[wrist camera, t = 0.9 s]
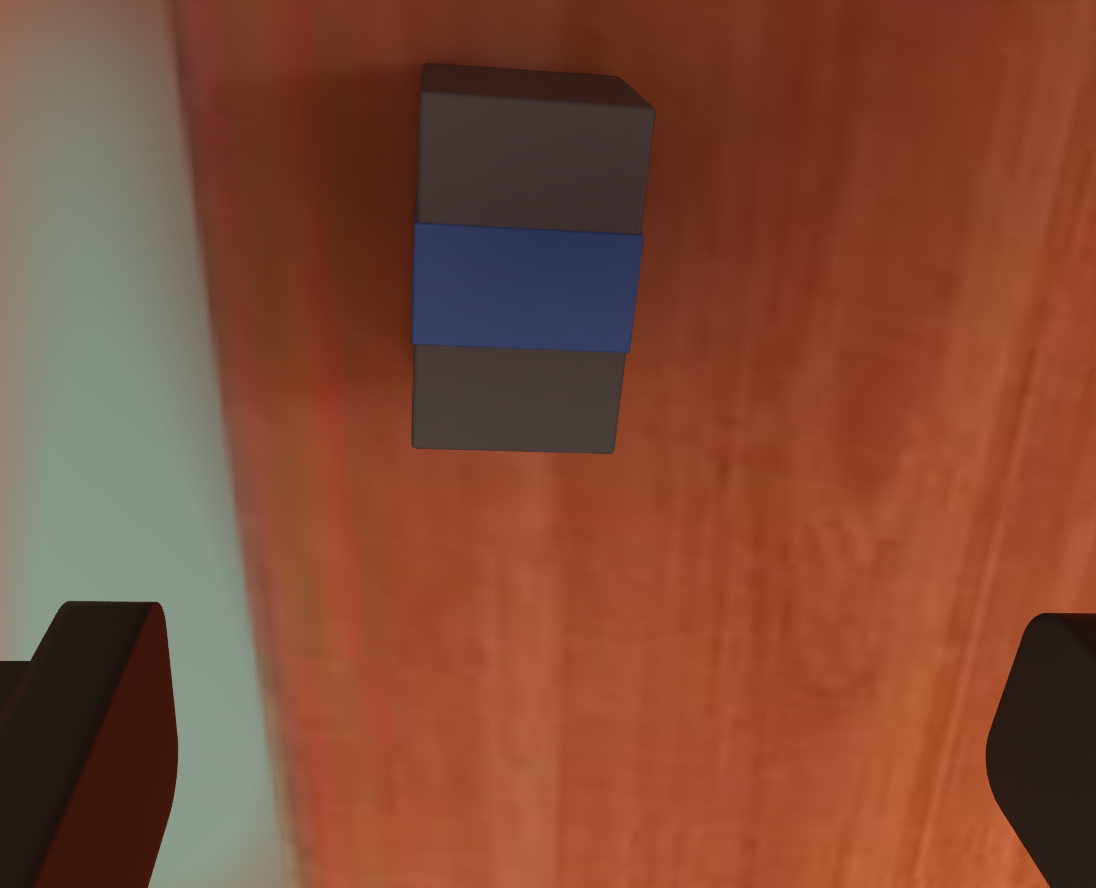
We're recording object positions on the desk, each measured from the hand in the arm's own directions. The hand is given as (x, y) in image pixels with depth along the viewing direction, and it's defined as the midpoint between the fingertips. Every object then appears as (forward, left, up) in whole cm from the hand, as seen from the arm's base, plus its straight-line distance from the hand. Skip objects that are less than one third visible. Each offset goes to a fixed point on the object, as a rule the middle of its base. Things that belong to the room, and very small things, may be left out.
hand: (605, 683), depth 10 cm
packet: (0, 0, -15) cm, 15 cm away
